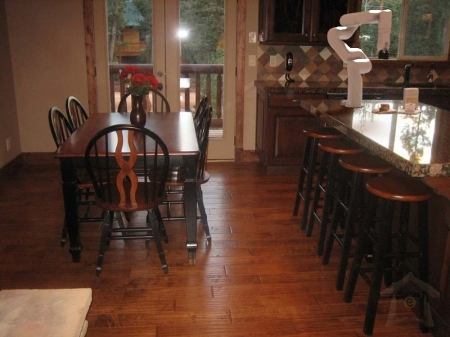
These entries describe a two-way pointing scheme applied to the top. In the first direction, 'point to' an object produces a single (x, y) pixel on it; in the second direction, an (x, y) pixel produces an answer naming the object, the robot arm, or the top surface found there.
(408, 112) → the mat
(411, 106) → the cap
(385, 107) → the tan round plate
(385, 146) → the top surface
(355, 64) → the robot arm
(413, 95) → the supplement box
